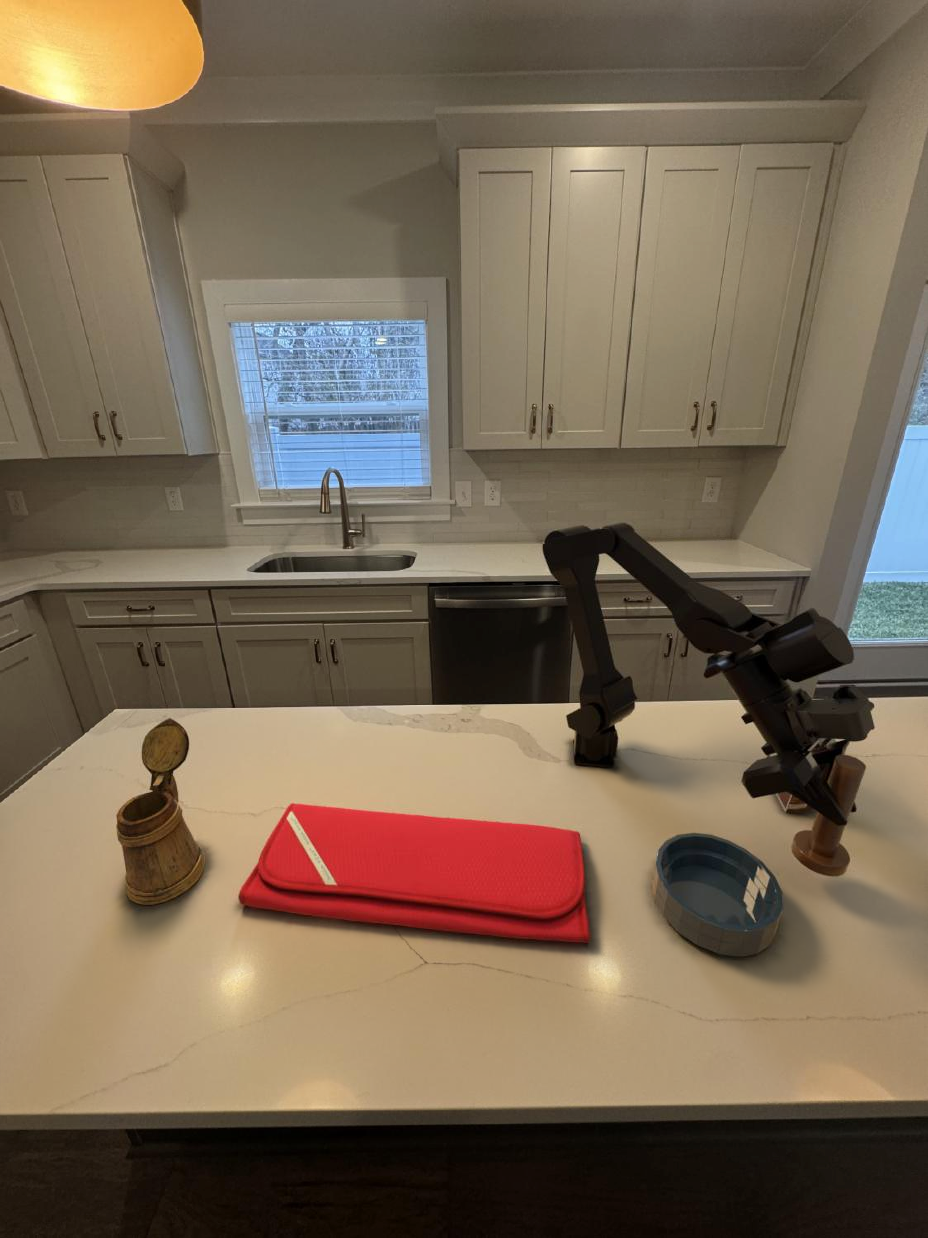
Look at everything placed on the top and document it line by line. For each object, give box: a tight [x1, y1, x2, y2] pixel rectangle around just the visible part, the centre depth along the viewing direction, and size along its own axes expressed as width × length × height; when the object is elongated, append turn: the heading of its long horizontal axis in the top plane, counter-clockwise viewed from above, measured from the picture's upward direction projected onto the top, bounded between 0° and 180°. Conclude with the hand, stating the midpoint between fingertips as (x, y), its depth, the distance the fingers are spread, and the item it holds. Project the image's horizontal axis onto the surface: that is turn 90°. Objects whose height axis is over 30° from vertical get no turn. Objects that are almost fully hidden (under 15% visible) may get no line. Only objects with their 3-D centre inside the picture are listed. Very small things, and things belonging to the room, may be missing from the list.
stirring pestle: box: [790, 754, 867, 878], centre depth 58 cm, size 6×6×14 cm
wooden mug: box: [115, 717, 206, 906], centre depth 64 cm, size 9×14×18 cm, turn 1°
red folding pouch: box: [238, 802, 591, 944], centre depth 64 cm, size 16×41×4 cm, turn 83°
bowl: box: [651, 832, 784, 958], centre depth 59 cm, size 13×13×4 cm
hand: (847, 818), depth 57 cm, fingers closed on stirring pestle, 3 cm apart
